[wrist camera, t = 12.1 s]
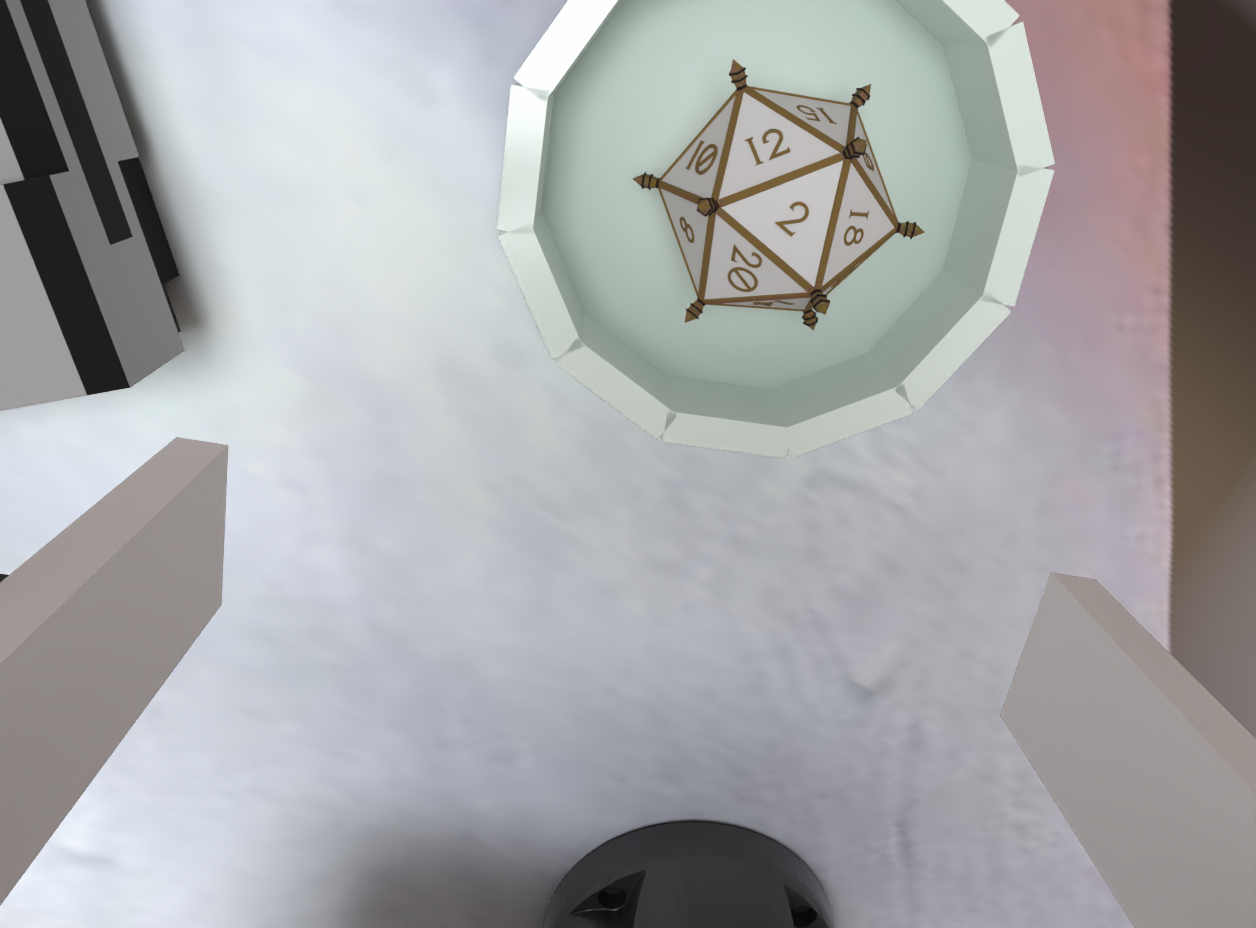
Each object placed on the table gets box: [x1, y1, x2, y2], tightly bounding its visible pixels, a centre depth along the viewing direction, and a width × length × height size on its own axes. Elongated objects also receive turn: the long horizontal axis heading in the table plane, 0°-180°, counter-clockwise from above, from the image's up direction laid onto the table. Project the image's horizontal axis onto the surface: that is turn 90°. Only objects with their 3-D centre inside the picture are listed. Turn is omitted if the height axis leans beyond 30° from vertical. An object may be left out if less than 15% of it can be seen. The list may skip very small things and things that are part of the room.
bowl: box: [497, 0, 1055, 459], centre depth 36 cm, size 18×18×6 cm
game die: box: [633, 59, 925, 331], centre depth 34 cm, size 9×8×10 cm
